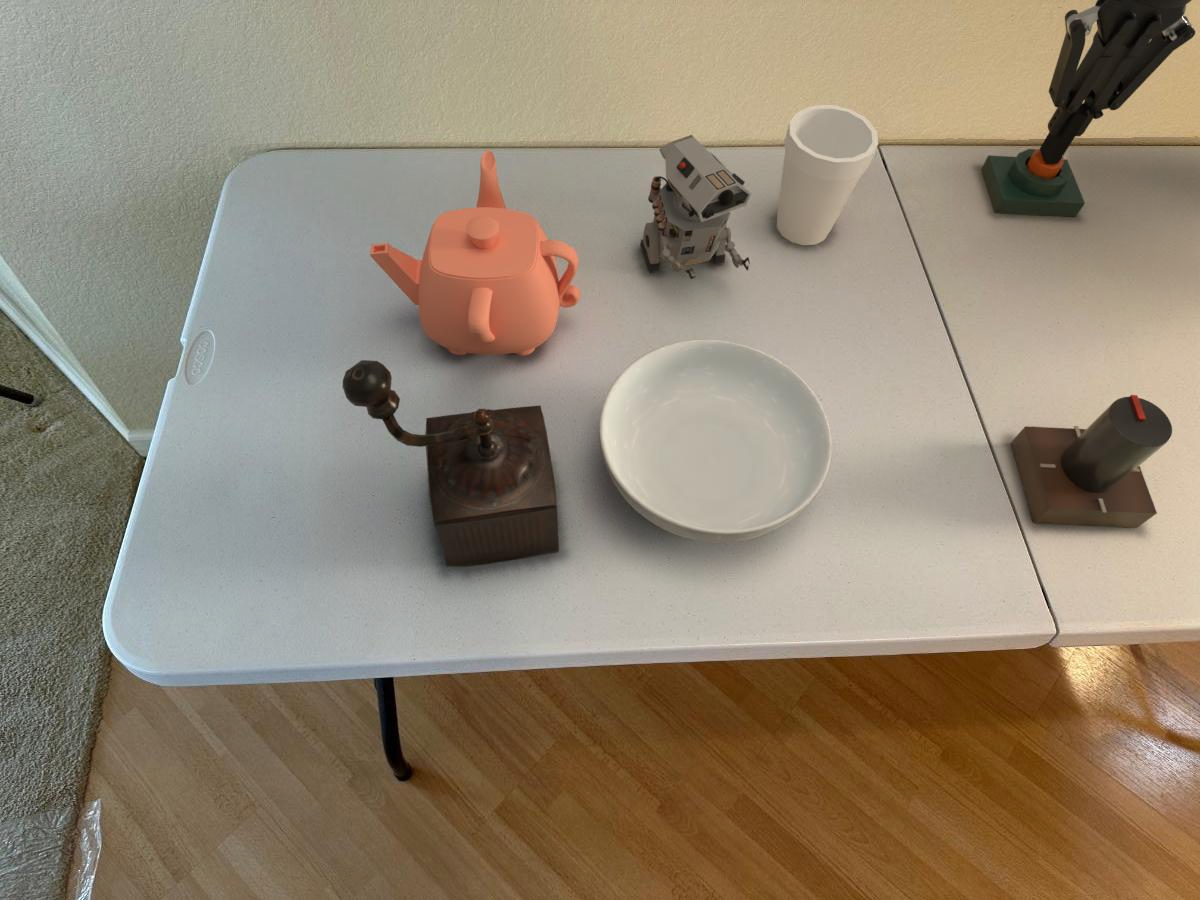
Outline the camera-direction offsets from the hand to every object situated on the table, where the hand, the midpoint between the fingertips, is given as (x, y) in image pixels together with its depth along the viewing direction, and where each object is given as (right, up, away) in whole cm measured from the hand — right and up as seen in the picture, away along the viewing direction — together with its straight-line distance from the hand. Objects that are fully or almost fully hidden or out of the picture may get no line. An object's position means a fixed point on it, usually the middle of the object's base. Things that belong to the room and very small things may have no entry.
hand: (1048, 156), depth 96 cm
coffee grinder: (-66, -41, -21) cm, 80 cm away
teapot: (-66, -20, -9) cm, 69 cm away
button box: (0, -3, +5) cm, 6 cm away
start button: (0, -1, +2) cm, 2 cm away
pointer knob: (-7, -37, -20) cm, 42 cm away
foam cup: (-29, -8, 0) cm, 31 cm away
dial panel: (-7, -38, -17) cm, 43 cm away
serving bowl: (-43, -37, -18) cm, 60 cm away
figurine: (-44, -15, -4) cm, 46 cm away
